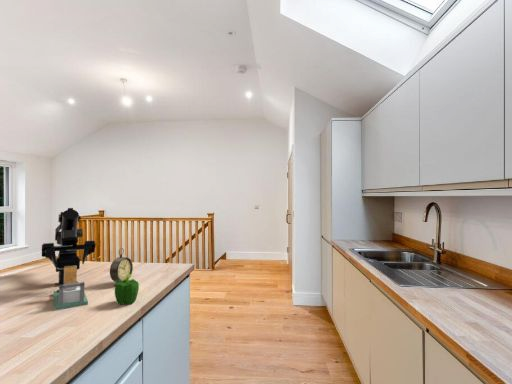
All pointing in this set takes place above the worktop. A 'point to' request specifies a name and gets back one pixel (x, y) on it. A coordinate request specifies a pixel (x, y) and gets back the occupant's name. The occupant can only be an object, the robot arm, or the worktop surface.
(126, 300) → the bell pepper
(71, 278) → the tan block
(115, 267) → the alarm clock
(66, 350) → the worktop surface
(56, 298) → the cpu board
